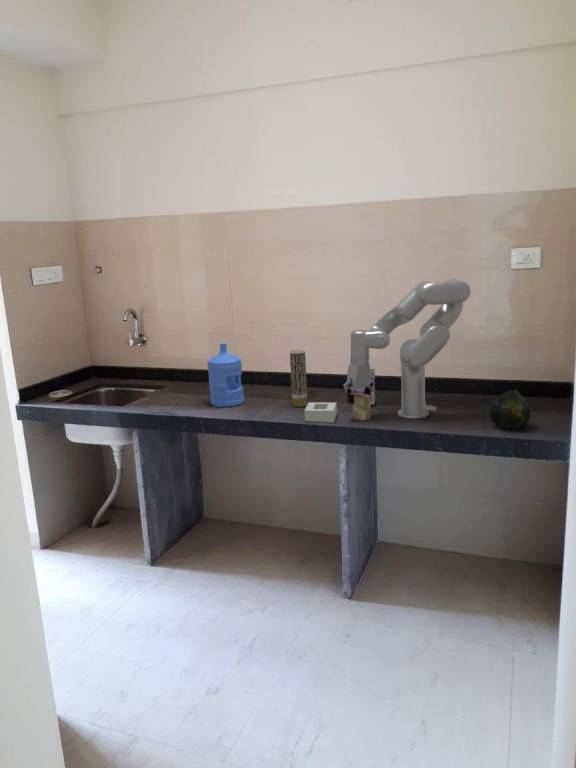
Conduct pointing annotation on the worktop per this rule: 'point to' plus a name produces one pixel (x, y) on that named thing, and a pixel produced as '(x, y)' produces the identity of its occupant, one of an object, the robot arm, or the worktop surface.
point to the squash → (510, 410)
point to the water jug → (225, 379)
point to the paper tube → (298, 378)
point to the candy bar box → (361, 390)
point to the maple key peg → (361, 406)
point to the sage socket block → (321, 412)
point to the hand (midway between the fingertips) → (359, 401)
